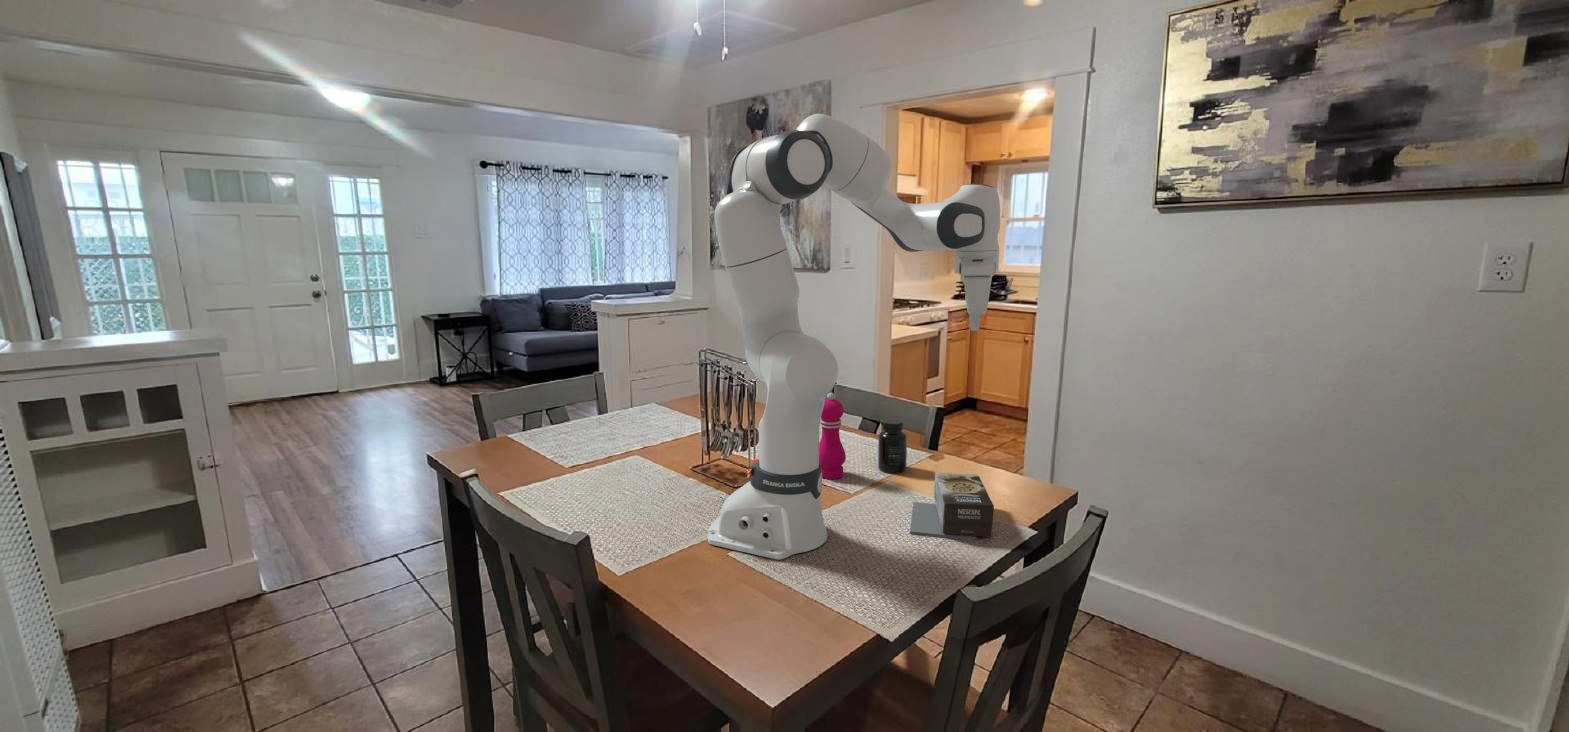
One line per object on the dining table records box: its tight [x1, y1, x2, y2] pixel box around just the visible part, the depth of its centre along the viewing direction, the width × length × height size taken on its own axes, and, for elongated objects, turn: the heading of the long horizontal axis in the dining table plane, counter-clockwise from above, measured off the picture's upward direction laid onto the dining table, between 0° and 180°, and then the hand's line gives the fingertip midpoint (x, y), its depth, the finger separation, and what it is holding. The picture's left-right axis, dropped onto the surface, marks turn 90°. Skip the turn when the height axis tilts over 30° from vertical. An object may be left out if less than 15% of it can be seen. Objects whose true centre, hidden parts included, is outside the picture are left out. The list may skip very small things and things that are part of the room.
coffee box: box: [933, 472, 995, 537], centre depth 123 cm, size 9×6×16 cm
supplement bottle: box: [877, 418, 908, 474], centre depth 151 cm, size 7×7×12 cm
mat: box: [909, 501, 977, 541], centre depth 123 cm, size 12×14×1 cm
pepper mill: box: [819, 392, 847, 480], centre depth 147 cm, size 7×7×20 cm
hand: (974, 330), depth 134 cm, fingers closed
